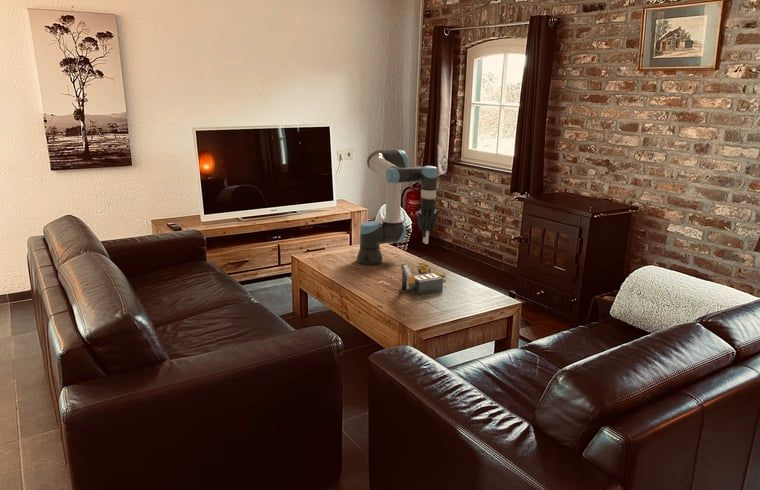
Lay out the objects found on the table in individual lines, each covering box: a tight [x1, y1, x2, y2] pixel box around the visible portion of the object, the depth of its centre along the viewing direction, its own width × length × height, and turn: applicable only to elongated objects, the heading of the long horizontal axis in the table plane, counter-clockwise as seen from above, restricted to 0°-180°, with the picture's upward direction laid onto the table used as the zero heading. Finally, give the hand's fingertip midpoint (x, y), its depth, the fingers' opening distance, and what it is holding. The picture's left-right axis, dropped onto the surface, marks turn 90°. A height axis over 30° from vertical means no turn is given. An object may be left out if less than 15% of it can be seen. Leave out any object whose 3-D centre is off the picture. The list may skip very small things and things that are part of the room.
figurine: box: [417, 262, 447, 283], centre depth 316 cm, size 12×9×15 cm
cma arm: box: [400, 263, 415, 284], centre depth 282 cm, size 4×23×2 cm, turn 7°
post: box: [398, 269, 410, 294], centre depth 293 cm, size 5×5×11 cm
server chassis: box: [408, 272, 444, 296], centre depth 296 cm, size 10×14×8 cm
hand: (425, 242), depth 297 cm, fingers closed
